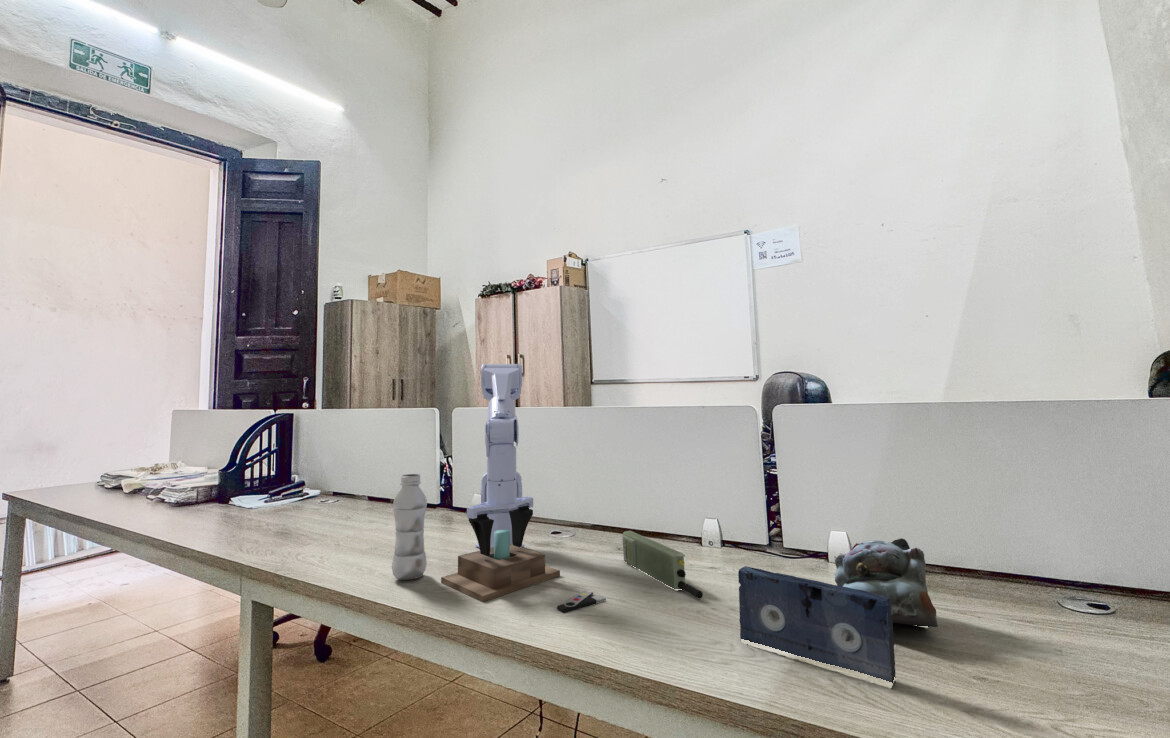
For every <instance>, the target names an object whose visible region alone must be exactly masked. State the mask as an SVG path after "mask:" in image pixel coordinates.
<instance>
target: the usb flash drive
mask: <svg viewBox="0 0 1170 738" xmlns="http://www.w3.org/2000/svg"><path fill="white" fill-rule="evenodd" d="M604 600H606V597H605V596H602V595H601V594H597V595H594V592H593V591H586V590H581V591H579V592H578V593H577V594H576V595H574V596H573V597H572V598H570V599H569V600H567V601H566V602H565V603H562V604H559V605H557V606H556V610H557V611H559V612H561V613H563V614H566V613H570V612H573V611H577V610H580V609H583V608H587V607H591V606H594V604H595V605H597V604H599V603H598V602H600V603H602V602H601V601H603V602H605V601H604Z"/></svg>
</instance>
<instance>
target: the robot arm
mask: <svg viewBox="0 0 1170 738" xmlns="http://www.w3.org/2000/svg"><path fill="white" fill-rule="evenodd" d="M480 384H481V385H480V386H481V394H482V395H483V399H485V400H487V401H489V403H488V404H487V407H488V408H487V421H485V423H484V445H485V451H486V452H485V453H486V455H485V456H486V457H487V459H486V472H485V473H484V474H482V477H481V483H480V503H479V504H475V505H471V506H467V507H466V518H467V519H468V523H469V525H470V526H471V528H472V530H473V532H474V535H475V537H476V540H477V543H475V544H474V546H475V547H477V548H479V551H480V553H481V554H483V555H485V556H488V555H490V548H492V547H494V532H495V531H497V530H509V531H510V544H512V545H513V546H517V547H521V548H524V547H525V544H524V543H523V542H524V537H525V535H526V534H525V533H526V530H527V527H528V525H529V523H530V520H531V519H532V517H533V515H534V510H533V509H531V508H534V497H532V496H523V482H522V475H521V474H520V473H519V472H518V471H517V447H518V445H519V440H520V439H519V435H520V434H519V431H520V430H519V421H518V416H517V415H516V404H515V401H516V400H518V399H520V397H521V394H522V386H523V366H522V365H521V364H520V363H486V362H484V363H482V365H481V367H480ZM514 444H515V445H516V446H515V445H514Z"/></svg>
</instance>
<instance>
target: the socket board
mask: <svg viewBox="0 0 1170 738" xmlns="http://www.w3.org/2000/svg"><path fill="white" fill-rule="evenodd" d="M560 576H561V570H560V569H556V568H554V567H550V566H549V565H548V566H547V565H546V554H544V553H541V552H537V551H535V550H531V549H527V548H524V547H517V546H513V545H512V544H510V557H509V558H505V559H502V560H497V559H494V547H492V548H490V555H488V556H485V555H483V554H481V553H480V550H476V551H473V552H472V551H471V552H467V553H465V554H461V555H458V556H457V572H456V573H451V574H449V575H448V574H447V575H445V576H444V575H443V576H441V577H440V583H441V584H443V585H445V586H448V587H450V588H452V589H454V590H456V591H458V592H461V593H463V594H465V595H468V596H469V597H471V598H473V599H476V600H477V601H480V602H482V603H483V602H486V601H490V600H492V599H495V598H500V597H502V596H505V595H507V594H510V593H513V592H516V591H518V590H521V589H525V588H529V587H530V586H534V585H536V584H540V583H543V582H546V581H549V580H552V579H555V578H557V577H560Z"/></svg>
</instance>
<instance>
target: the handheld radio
mask: <svg viewBox="0 0 1170 738" xmlns="http://www.w3.org/2000/svg"><path fill="white" fill-rule="evenodd" d="M622 550H623V562H624V561H625V562H627V563H628V564H630V565H632V566H634V567H636V568H638V569H640V570H641V571H643V572H645V573H647V574H648V575H650V576H652V577H654V578H655V579H657V580H659V581H661V582H663V583H664V584H666V585H668V586H670V587H672V588H674V589H682V591H685V592H686V593H688V594H689V595H691V596H693V597H695V598H697V599H698V600H701V599H702V598H703V596H704V593H703V592H702V590H699V589H698V588H696V587H694V586H693V585H690V584H688V583H686V575H687V574H686V572H685V563H686V562H685V556H686V555H685V554H684V553H683V552H681V551H678V550H676V549H673V548H671V547H669V546H666V545H664V544H662V543H660V542H657V541H655V540H653V539H650V538H648V537H646V536H643V535H642V534H640V533H636V532H635V531H632V530H625V531H623V533H622ZM625 562H624V563H625ZM627 563H626V564H627ZM628 564H627V565H628ZM630 565H629V566H630ZM632 566H631V567H632ZM634 567H633V568H634ZM641 571H640V572H641ZM648 575H647V576H648ZM655 579H654V580H655ZM664 584H663V585H664Z"/></svg>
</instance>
